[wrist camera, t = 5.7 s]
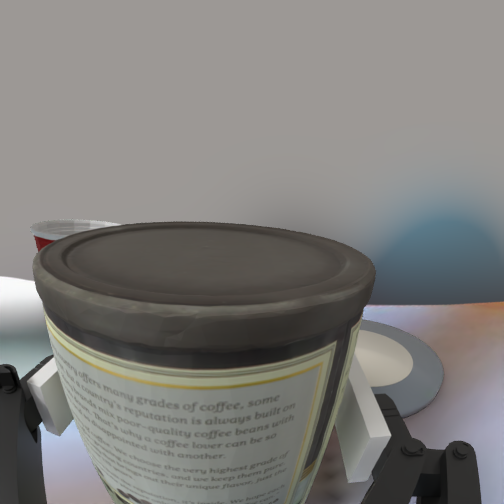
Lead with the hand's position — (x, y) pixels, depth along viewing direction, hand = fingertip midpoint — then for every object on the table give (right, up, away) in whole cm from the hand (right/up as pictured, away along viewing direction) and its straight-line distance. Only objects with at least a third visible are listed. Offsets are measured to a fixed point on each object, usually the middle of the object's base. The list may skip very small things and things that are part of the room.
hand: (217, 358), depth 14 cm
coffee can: (-1, -8, -2) cm, 9 cm away
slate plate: (+12, -6, +13) cm, 19 cm away
